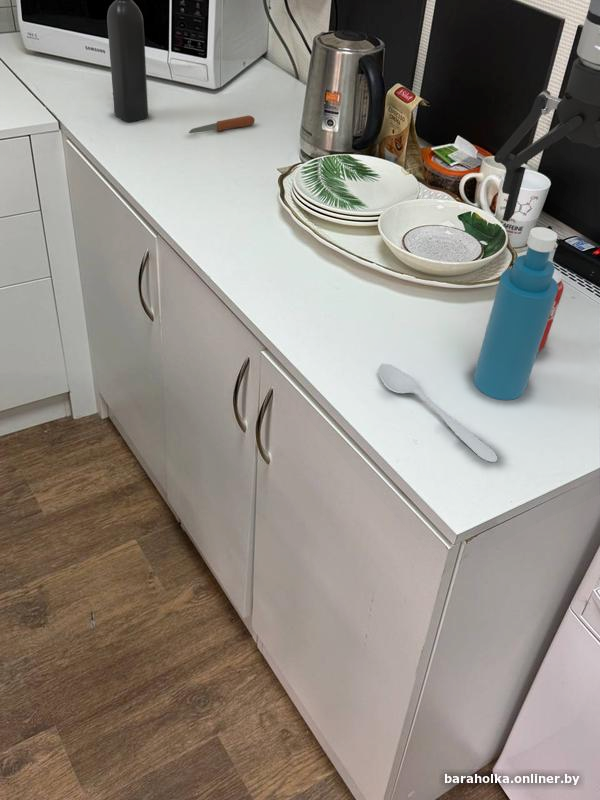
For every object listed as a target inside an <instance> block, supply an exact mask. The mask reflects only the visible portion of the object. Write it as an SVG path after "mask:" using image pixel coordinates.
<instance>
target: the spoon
mask: <svg viewBox="0 0 600 800" xmlns="http://www.w3.org/2000/svg"><path fill="white" fill-rule="evenodd" d="M378 376H379V378H380V380H381V382H382V383H383V385H384V386H385V387H386V388H387V389H388V390H389V391H391V392H394V393H398V394H410V393H412V394H416V395H417V396H418V397H420V398H421V399H422V400H423V401H424V402H425V403H426V404H427V405H428V406H429V407H431V408H432V410H434V411H435V413H437V415H438V416H439V417H440V418H441V419H442V421H444V423H445V424H446V425H447V427H449V428H450V429H451V430H452V432H453V433H454V434H455V435H456V436H457V438H459V439H460V440H461V441H462V442H463V443H464V444H465V445H466V446H467V447H468V448H469V449H470V450H472V451H473V452H474V453H475V454H476V455H477V456H478V457H479V458H480V459H482V460H483V461H486V462H489V463H496V462H497V461H498V456H497V454H496V452H495V451H494V450H493V449H492V448H490V447H489V445H487V444H486V443H484V442H483V441H481V440H480V438H478V437H477V436H475V434H473V433H472V432H470V431H469V430H468V429H467V428H466V427H465V426H464V425H462V424H461V423H460V422H458V421H457V420H456V419H455V418H454V417H452V416H451V415H449V414H448V413H447V412H446V411H445V410H443V409H442V408H441V407H440V406H438V405H437V404H436V403H435V402H434V401H432V400H431V398H429V396H427V394H426V393H425V392H423V390H422V389H421V388H420V387H419V384H418V382H417V381H416V380H415V379H414V378H413V377H411V376H410V375H408V374H407V373H405V371H403V370H402V369H400V368H398V367H396V366H394V365H392V364H389V363H381V364H380V365H379V367H378Z"/></svg>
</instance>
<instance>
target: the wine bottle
mask: <svg viewBox="0 0 600 800" xmlns="http://www.w3.org/2000/svg"><path fill="white" fill-rule="evenodd" d="M106 21H107V35H108V47H109V48H108V49H109V62H110V73H111V88H112V98H113V99H112V100H113V111H114V112H113V113H114V116H116V117H118V118H119V119H121V120H122V121H125V122H128V123H132V122H136V121H140V120H145V119H147V118H148V117H149V104H148V84H147V83H148V82H147V64H146V45H145V44H146V43H145V25H144V24H145V23H144V16H143V14H142V11H141V9H140V8H139V6H138V5H137V4H136V3H135V2H134V0H114V1H113V2H112V3H111V4H110V5H109V7H108V10H107V15H106Z"/></svg>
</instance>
